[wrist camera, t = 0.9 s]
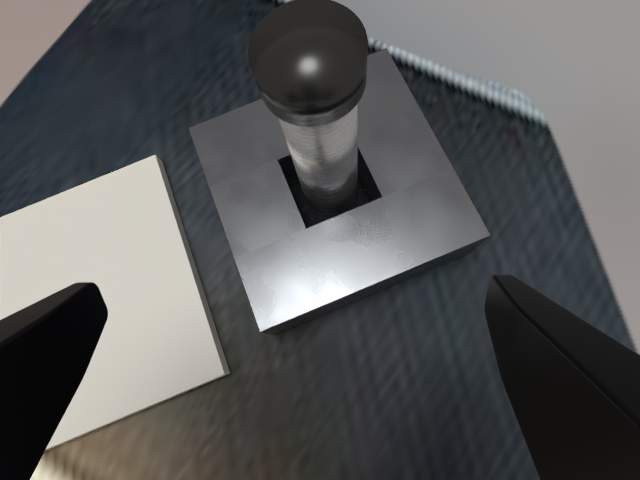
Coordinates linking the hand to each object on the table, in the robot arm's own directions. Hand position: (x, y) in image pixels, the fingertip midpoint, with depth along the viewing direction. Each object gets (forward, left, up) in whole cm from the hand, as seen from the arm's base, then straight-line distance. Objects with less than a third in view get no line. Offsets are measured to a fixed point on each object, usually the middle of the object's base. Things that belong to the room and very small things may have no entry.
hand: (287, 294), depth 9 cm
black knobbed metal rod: (+7, -3, -14) cm, 16 cm away
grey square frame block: (+7, -3, -14) cm, 16 cm away
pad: (+7, +13, -14) cm, 20 cm away
